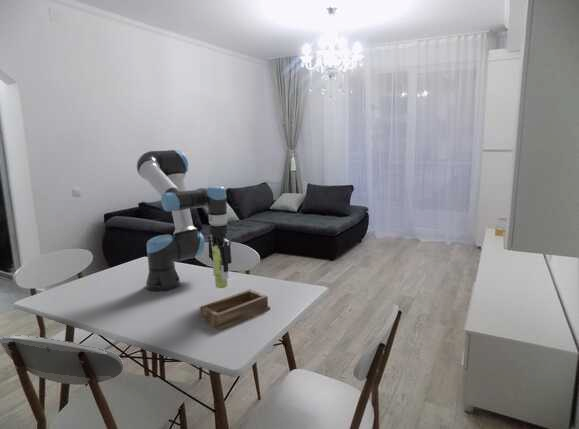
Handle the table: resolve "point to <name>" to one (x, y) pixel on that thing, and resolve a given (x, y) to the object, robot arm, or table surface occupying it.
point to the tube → (218, 268)
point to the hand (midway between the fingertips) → (220, 276)
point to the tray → (234, 309)
